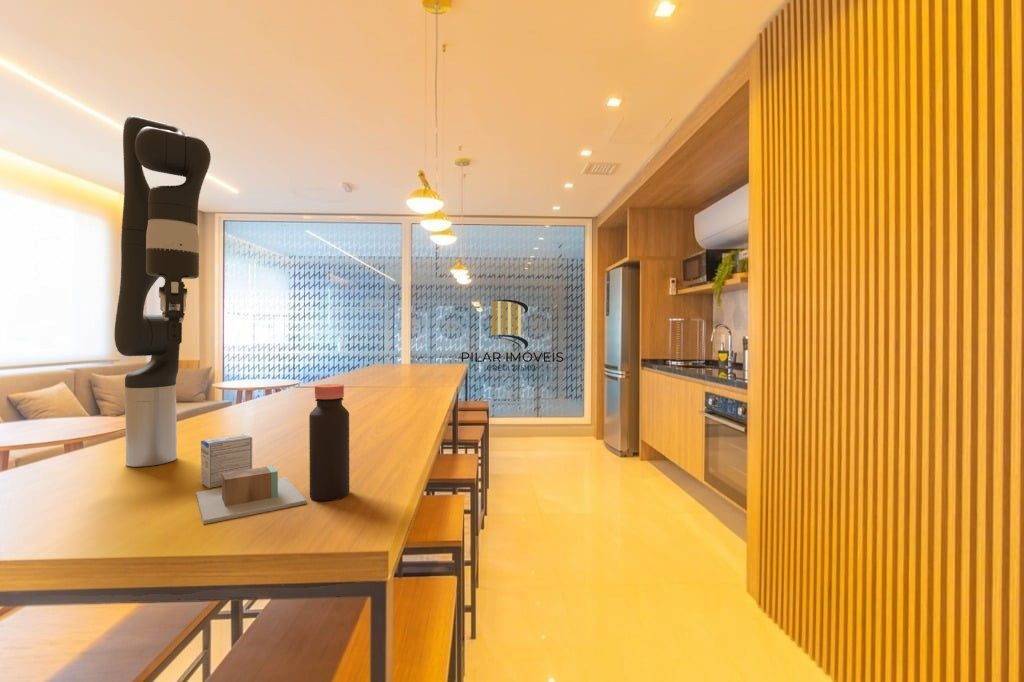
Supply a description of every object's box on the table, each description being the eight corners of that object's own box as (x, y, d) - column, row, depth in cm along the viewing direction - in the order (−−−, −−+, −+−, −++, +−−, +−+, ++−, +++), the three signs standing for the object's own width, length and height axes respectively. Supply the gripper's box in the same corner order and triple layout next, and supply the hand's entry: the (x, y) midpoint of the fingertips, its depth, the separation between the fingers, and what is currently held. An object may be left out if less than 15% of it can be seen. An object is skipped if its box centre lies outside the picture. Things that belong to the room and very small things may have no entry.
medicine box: (243, 474, 99) (243, 433, 99) (253, 479, 96) (252, 436, 96) (200, 484, 93) (200, 439, 93) (209, 489, 90) (208, 443, 90)
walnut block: (221, 473, 83) (272, 465, 88) (222, 498, 83) (272, 489, 88) (225, 479, 80) (277, 471, 84) (225, 506, 80) (277, 496, 84)
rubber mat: (196, 495, 87) (196, 492, 87) (286, 480, 96) (286, 477, 96) (203, 524, 74) (203, 520, 74) (306, 503, 83) (306, 500, 83)
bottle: (300, 499, 85) (300, 386, 85) (327, 487, 91) (327, 382, 91) (331, 503, 83) (331, 388, 82) (357, 491, 89) (357, 384, 89)
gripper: (202, 248, 80) (201, 345, 80) (195, 255, 91) (195, 341, 92) (146, 242, 75) (145, 345, 76) (146, 251, 87) (145, 340, 87)
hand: (172, 342), depth 84 cm, fingers open, 8 cm apart
